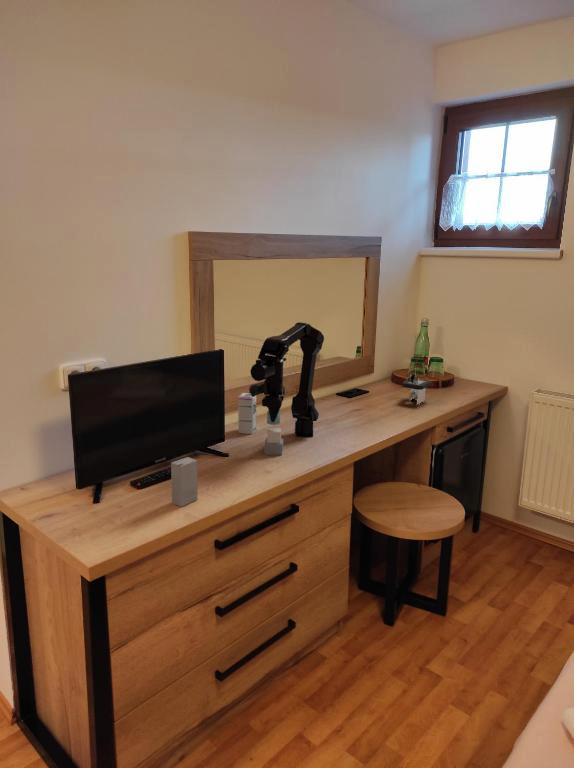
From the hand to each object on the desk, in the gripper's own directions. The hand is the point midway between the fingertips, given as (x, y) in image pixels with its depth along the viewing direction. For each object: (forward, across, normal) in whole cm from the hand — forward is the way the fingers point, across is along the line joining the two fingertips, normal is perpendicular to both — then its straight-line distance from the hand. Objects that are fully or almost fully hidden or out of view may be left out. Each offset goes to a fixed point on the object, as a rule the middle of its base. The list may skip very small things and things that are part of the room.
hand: (273, 419), depth 199 cm
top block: (+8, 0, 0) cm, 8 cm away
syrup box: (+12, -20, -12) cm, 26 cm away
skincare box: (+11, +43, -20) cm, 49 cm away
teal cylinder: (+1, 0, 0) cm, 1 cm away
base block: (+12, 0, 0) cm, 12 cm away
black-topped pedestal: (+12, -74, +58) cm, 95 cm away
